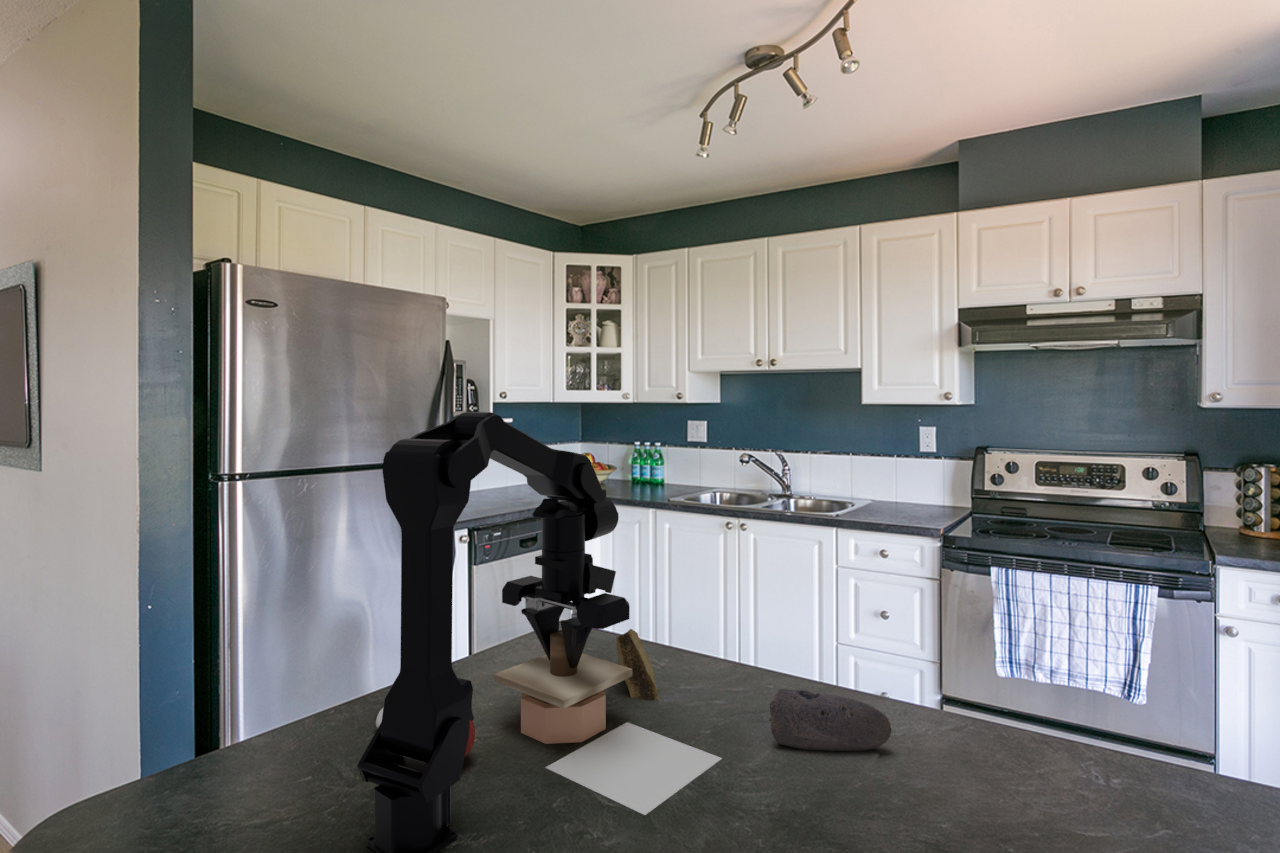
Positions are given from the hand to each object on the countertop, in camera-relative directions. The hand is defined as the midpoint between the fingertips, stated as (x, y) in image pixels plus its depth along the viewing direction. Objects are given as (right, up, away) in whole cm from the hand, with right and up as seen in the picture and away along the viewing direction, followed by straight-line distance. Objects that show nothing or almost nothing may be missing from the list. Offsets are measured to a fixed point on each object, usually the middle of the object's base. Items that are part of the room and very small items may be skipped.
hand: (563, 664), depth 94 cm
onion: (-12, -9, -10) cm, 18 cm away
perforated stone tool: (+34, -9, -5) cm, 36 cm away
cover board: (0, -2, 0) cm, 2 cm away
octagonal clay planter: (0, -9, 0) cm, 9 cm away
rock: (+10, -8, +13) cm, 18 cm away
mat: (+10, -9, -10) cm, 16 cm away
